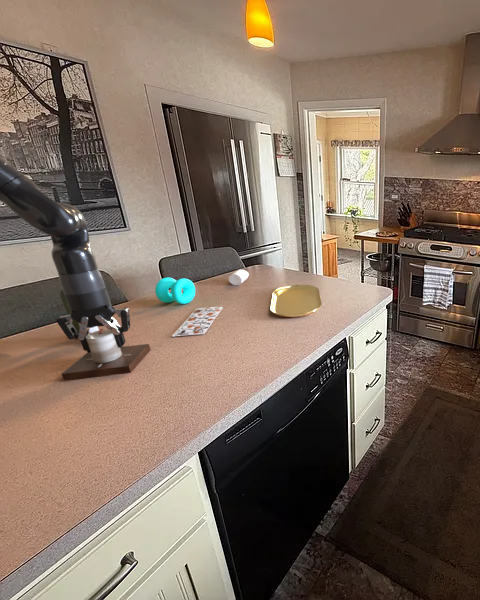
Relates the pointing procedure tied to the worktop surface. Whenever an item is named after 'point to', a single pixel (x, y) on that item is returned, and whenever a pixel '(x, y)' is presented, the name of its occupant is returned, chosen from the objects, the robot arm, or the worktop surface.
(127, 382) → the worktop surface
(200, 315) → the paper towel
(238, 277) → the roll
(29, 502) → the worktop surface
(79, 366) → the holder
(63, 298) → the vegetable
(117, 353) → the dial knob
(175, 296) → the donuts
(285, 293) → the serving platter
